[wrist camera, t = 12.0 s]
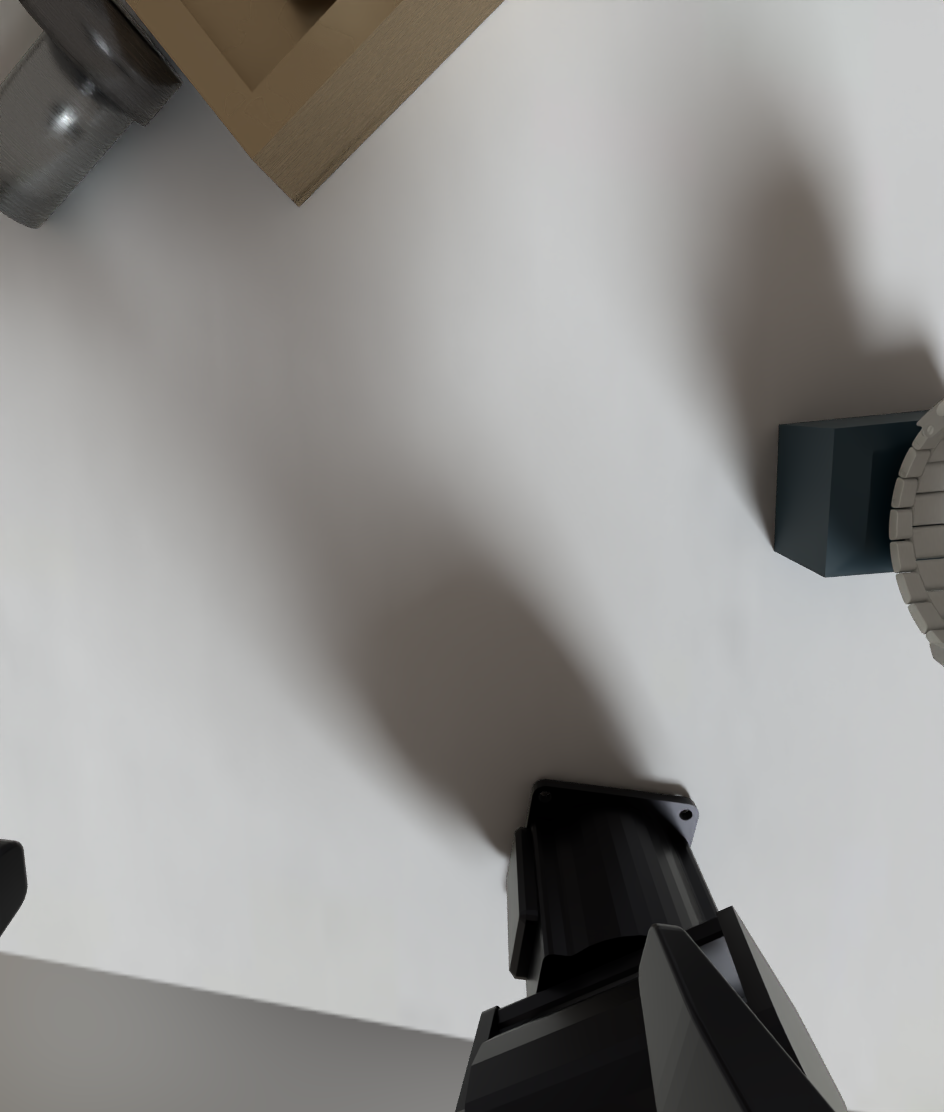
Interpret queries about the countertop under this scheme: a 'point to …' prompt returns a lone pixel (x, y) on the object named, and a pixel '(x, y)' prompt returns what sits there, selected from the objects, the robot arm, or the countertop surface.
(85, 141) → the input shaft
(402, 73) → the square brown wooden tray
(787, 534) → the rubber stamp
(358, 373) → the countertop surface
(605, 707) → the countertop surface
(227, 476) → the countertop surface
